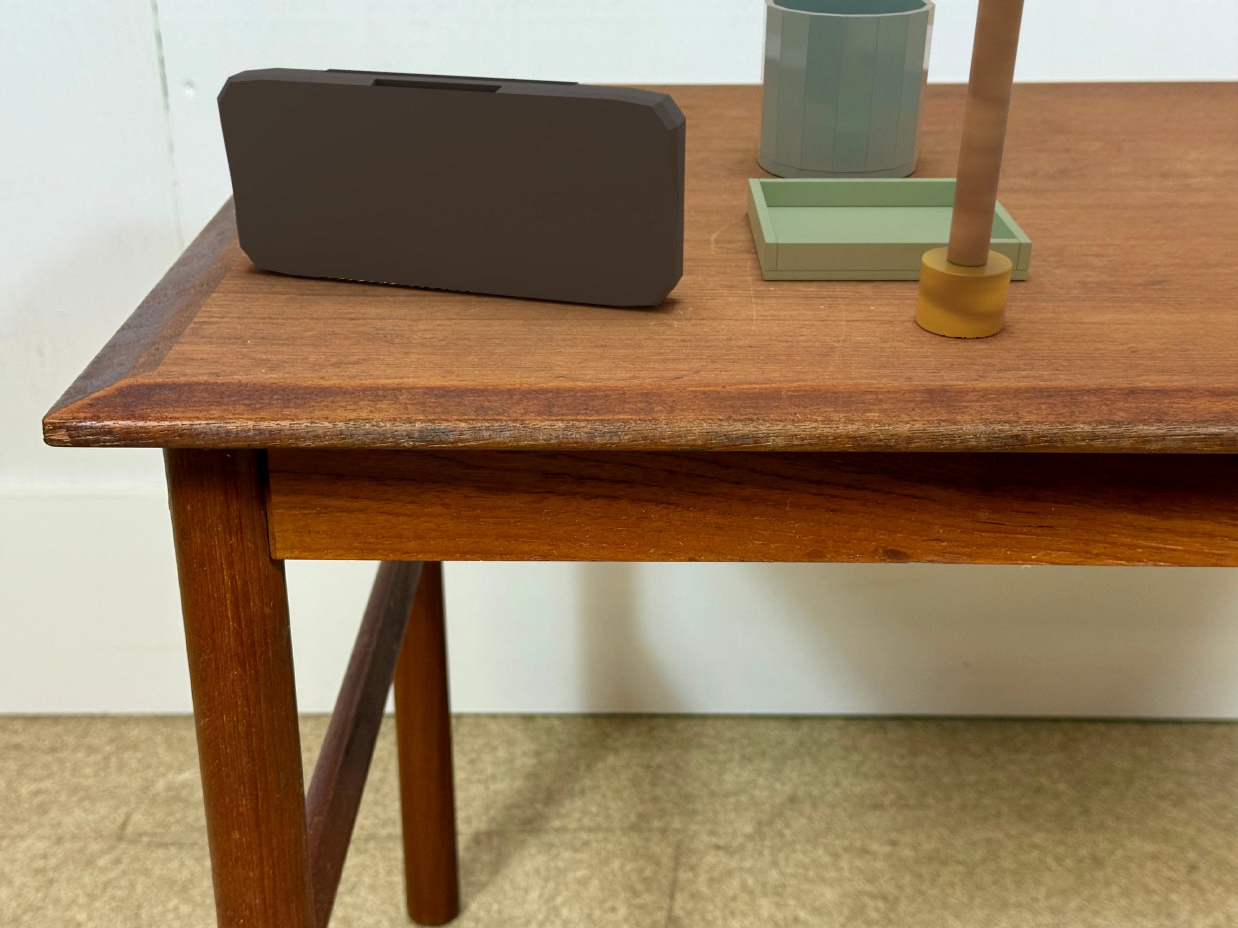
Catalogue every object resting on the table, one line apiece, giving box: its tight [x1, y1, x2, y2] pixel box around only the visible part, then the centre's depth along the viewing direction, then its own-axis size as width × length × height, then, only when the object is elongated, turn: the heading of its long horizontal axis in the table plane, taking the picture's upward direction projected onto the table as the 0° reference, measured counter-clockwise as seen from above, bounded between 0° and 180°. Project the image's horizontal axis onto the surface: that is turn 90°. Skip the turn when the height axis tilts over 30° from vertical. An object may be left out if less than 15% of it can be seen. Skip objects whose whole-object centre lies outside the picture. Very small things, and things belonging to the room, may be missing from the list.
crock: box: [757, 0, 936, 179], centre depth 80 cm, size 10×10×10 cm
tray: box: [746, 177, 1033, 281], centre depth 68 cm, size 13×11×2 cm
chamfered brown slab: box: [216, 67, 687, 307], centre depth 61 cm, size 23×3×10 cm, turn 75°
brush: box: [914, 0, 1025, 339], centre depth 55 cm, size 4×4×18 cm
